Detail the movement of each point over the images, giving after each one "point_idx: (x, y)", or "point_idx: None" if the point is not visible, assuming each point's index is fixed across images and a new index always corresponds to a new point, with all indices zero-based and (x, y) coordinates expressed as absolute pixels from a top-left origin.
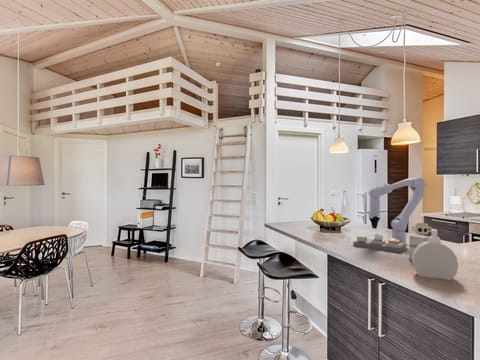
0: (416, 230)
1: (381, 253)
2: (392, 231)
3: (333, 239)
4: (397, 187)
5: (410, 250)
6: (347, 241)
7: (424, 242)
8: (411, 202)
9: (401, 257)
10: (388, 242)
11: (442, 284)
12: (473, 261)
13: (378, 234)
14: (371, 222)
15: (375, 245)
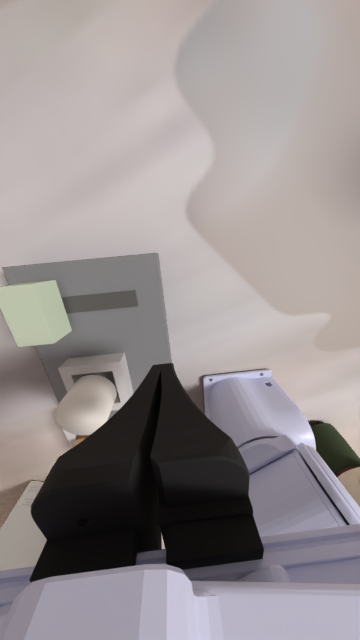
0: (353, 491)
1: (16, 413)
2: (240, 437)
3: (60, 5)
4: None
5: (3, 525)
6: (98, 169)
7: None
8: None
9: (33, 463)
10: (77, 439)
11: None
12: (161, 540)
13: (84, 415)
14: (122, 410)
15: (53, 382)
